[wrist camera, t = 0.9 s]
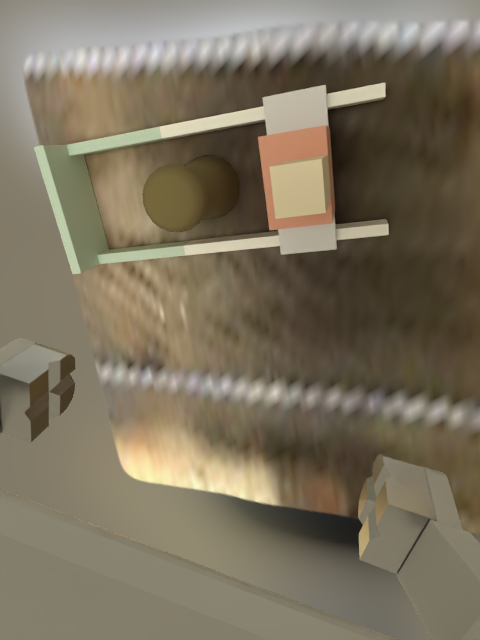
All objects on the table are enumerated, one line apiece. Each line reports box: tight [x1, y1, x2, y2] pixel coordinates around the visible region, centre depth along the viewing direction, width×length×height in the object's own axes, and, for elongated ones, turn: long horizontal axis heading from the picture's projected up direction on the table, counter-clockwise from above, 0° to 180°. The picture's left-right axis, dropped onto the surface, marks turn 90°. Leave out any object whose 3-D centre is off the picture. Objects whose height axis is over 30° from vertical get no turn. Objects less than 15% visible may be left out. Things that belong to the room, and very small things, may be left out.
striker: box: [258, 85, 337, 255], centre depth 31 cm, size 5×13×16 cm, turn 9°
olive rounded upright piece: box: [143, 155, 239, 232], centre depth 36 cm, size 6×6×11 cm
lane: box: [34, 83, 389, 274], centre depth 38 cm, size 30×12×6 cm, turn 99°
